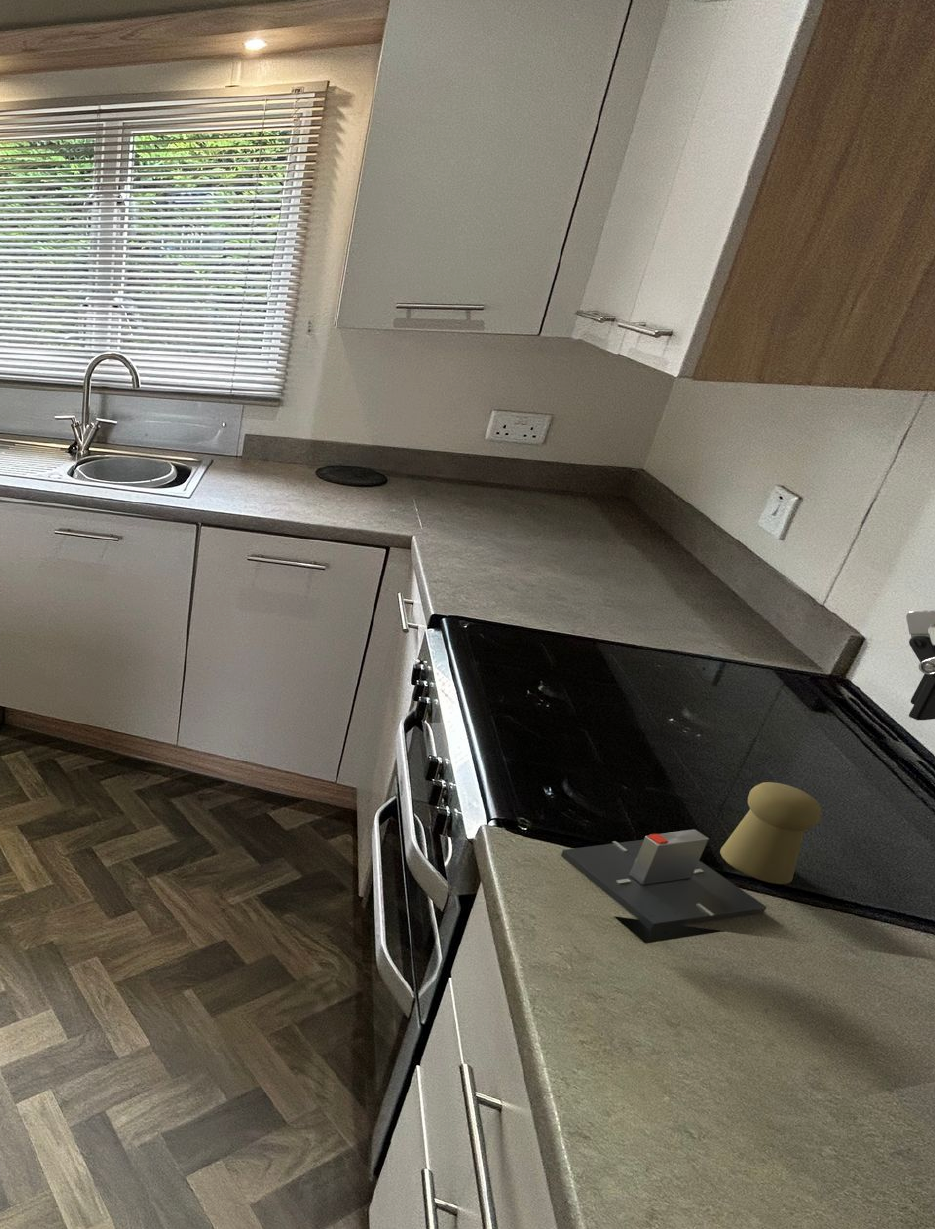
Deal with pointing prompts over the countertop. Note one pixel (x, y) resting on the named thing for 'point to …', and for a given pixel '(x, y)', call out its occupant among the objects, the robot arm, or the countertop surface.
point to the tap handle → (668, 856)
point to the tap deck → (661, 893)
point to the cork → (771, 832)
